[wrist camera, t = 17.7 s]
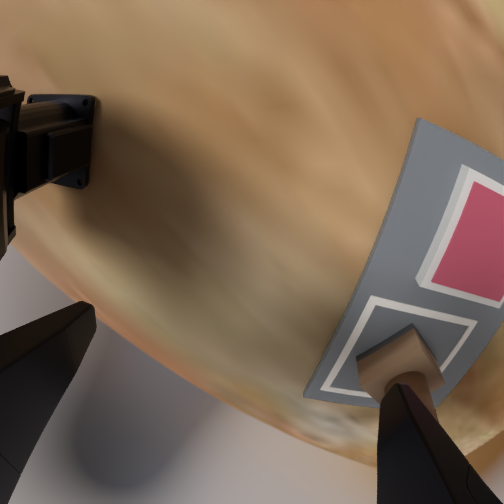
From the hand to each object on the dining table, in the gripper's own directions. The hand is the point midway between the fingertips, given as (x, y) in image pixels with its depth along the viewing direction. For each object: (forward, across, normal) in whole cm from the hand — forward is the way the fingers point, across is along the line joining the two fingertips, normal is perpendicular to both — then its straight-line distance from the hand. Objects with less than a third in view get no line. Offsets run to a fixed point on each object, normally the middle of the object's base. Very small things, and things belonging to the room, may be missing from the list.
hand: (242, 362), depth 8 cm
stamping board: (+12, -14, +4) cm, 18 cm away
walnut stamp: (+11, -12, +8) cm, 19 cm away
